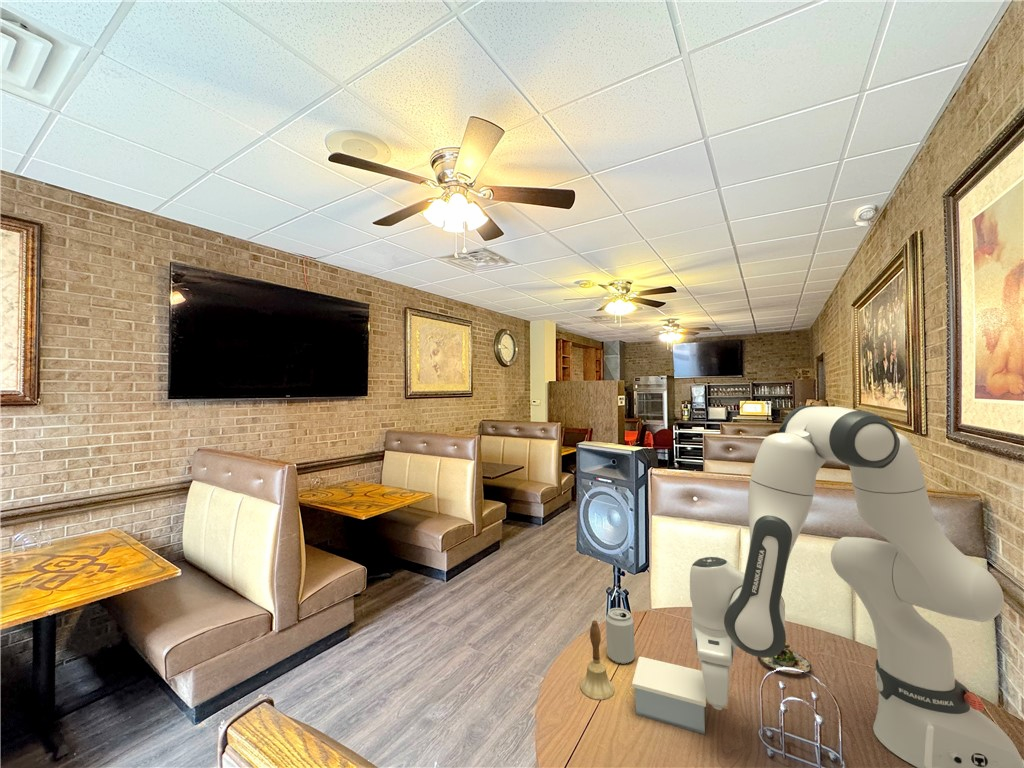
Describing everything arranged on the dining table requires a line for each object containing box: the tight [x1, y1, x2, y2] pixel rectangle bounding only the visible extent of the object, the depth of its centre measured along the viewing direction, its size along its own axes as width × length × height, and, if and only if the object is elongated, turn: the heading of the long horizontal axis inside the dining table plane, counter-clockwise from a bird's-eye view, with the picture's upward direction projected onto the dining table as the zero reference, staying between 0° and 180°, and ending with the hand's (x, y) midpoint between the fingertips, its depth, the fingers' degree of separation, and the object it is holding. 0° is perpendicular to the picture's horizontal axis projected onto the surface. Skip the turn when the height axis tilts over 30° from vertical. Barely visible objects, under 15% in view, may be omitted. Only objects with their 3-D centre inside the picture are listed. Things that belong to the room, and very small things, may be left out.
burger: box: [757, 641, 813, 675], centre depth 107 cm, size 12×12×8 cm
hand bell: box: [579, 620, 615, 701], centre depth 100 cm, size 8×8×16 cm
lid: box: [631, 656, 729, 710], centre depth 91 cm, size 19×11×2 cm, turn 64°
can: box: [605, 607, 636, 665], centre depth 112 cm, size 8×8×12 cm
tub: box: [634, 688, 706, 735], centre depth 92 cm, size 14×10×6 cm
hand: (717, 699), depth 88 cm, fingers closed on lid, 3 cm apart
